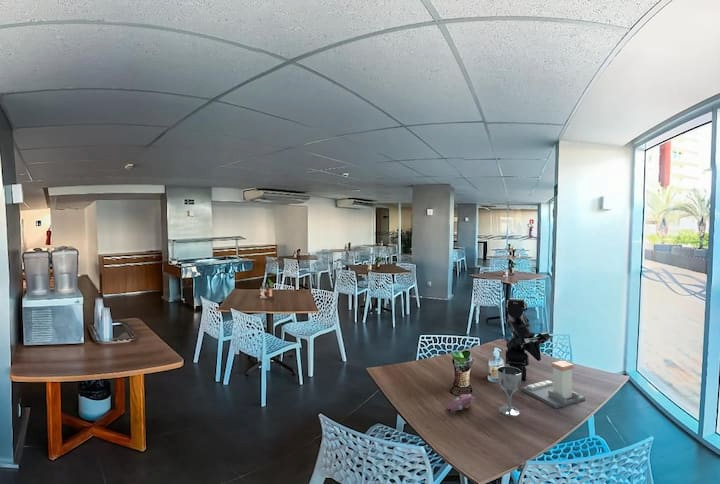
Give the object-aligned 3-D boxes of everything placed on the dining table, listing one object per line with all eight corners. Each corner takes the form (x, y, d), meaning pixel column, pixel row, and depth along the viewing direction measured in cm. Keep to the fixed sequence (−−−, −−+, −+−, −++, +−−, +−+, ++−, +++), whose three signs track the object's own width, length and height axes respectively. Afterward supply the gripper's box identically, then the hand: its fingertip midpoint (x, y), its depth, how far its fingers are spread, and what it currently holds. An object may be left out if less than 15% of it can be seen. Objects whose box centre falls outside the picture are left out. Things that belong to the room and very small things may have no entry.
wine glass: (520, 407, 132) (520, 367, 131) (522, 418, 124) (522, 375, 123) (497, 404, 134) (497, 364, 133) (498, 415, 127) (497, 373, 126)
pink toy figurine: (452, 417, 129) (458, 404, 126) (445, 407, 132) (450, 394, 129) (473, 410, 133) (479, 397, 130) (465, 400, 137) (471, 387, 134)
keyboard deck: (521, 390, 145) (521, 382, 145) (548, 383, 151) (548, 375, 150) (557, 409, 130) (557, 400, 130) (586, 400, 135) (586, 392, 135)
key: (551, 395, 137) (551, 362, 137) (562, 392, 139) (562, 360, 139) (562, 400, 133) (562, 367, 132) (573, 397, 135) (573, 364, 134)
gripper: (526, 331, 163) (546, 364, 153) (492, 337, 157) (510, 372, 147) (540, 319, 154) (562, 353, 145) (505, 325, 149) (524, 361, 139)
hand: (539, 360), depth 144 cm, fingers closed
